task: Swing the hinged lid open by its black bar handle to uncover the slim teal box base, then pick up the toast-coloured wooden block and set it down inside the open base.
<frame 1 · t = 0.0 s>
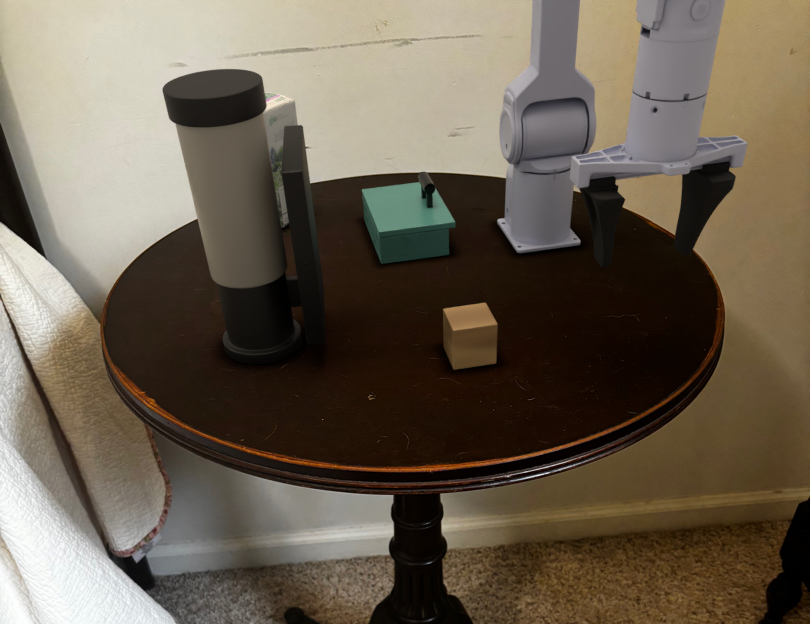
hand: (642, 256, 72), 10 cm above the table, tool pointing down, fingers open, 7 cm apart
syrup box: (280, 219, 107), on the table
press lid: (406, 195, 98), point 5 cm above the table, hinge at 0.0°
block: (469, 355, 81), on the table
light fixture: (276, 343, 84), on the table
teal box base: (404, 236, 101), on the table
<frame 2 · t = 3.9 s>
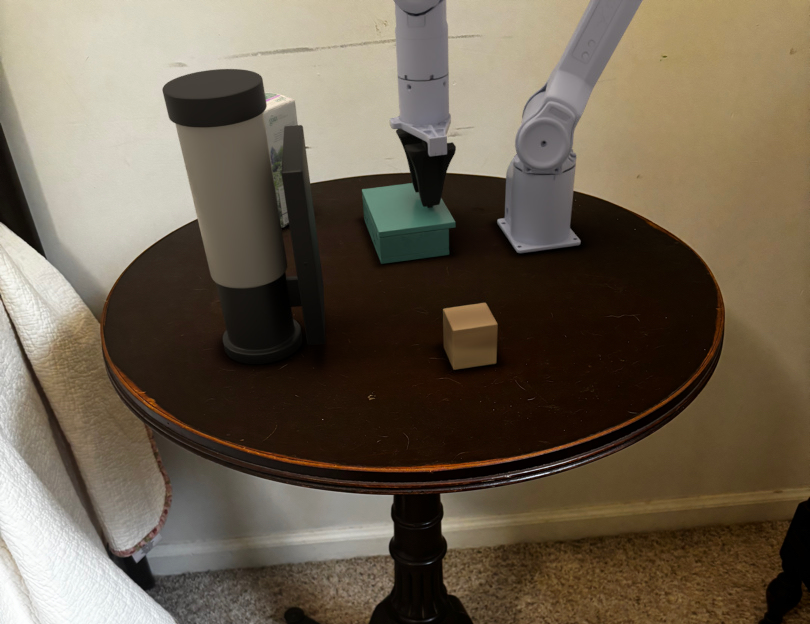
hand: (426, 197, 98), 5 cm above the table, tool pointing down, fingers closed on press lid, 4 cm apart
press lid: (406, 195, 98), point 5 cm above the table, hinge at 0.0°, touching gripper
everything else where it was.
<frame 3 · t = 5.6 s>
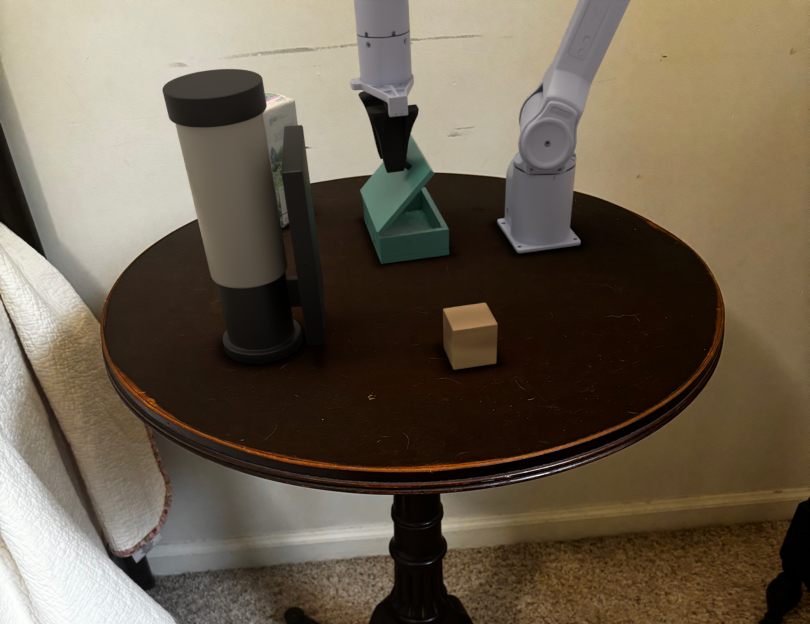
hand: (391, 164, 95), 9 cm above the table, tool pointing down, fingers closed on press lid, 4 cm apart
press lid: (385, 174, 95), point 8 cm above the table, hinge at 44.0°, touching gripper
everything else where it was.
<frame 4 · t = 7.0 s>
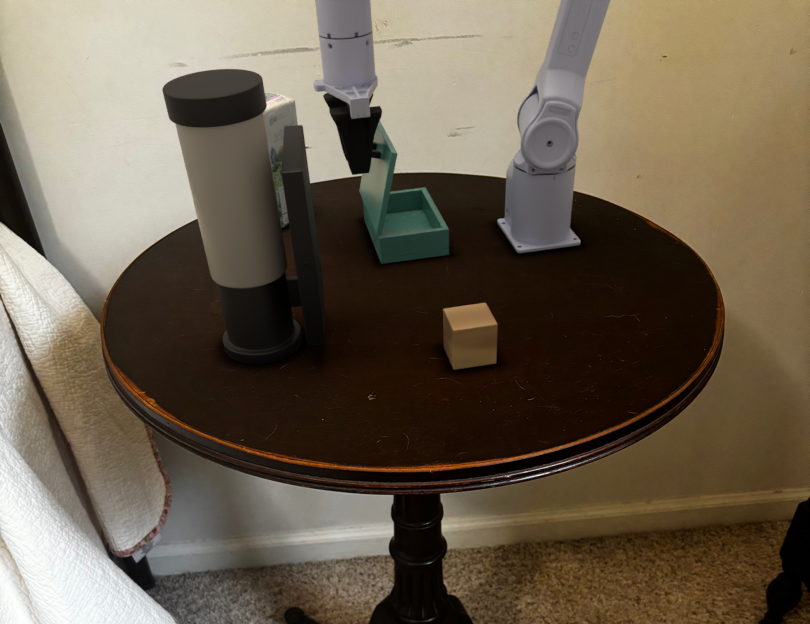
hand: (357, 165, 94), 9 cm above the table, tool pointing down, fingers closed on press lid, 4 cm apart
press lid: (364, 172, 95), point 8 cm above the table, hinge at 74.8°, touching gripper
everything else where it was.
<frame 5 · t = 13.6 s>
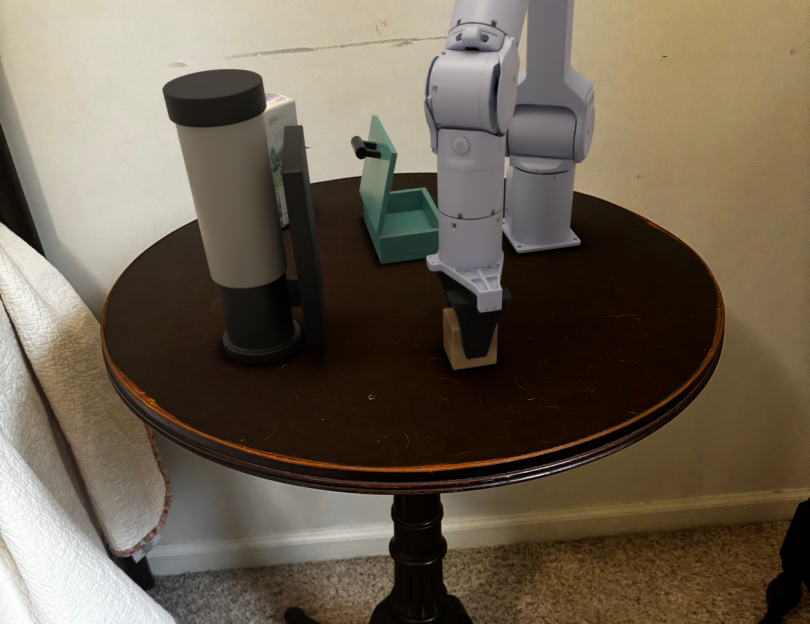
hand: (469, 343, 80), 1 cm above the table, tool pointing down, fingers closed on block, 4 cm apart
press lid: (364, 172, 95), point 8 cm above the table, hinge at 74.7°
block: (469, 355, 81), on the table, touching gripper
everything else where it was.
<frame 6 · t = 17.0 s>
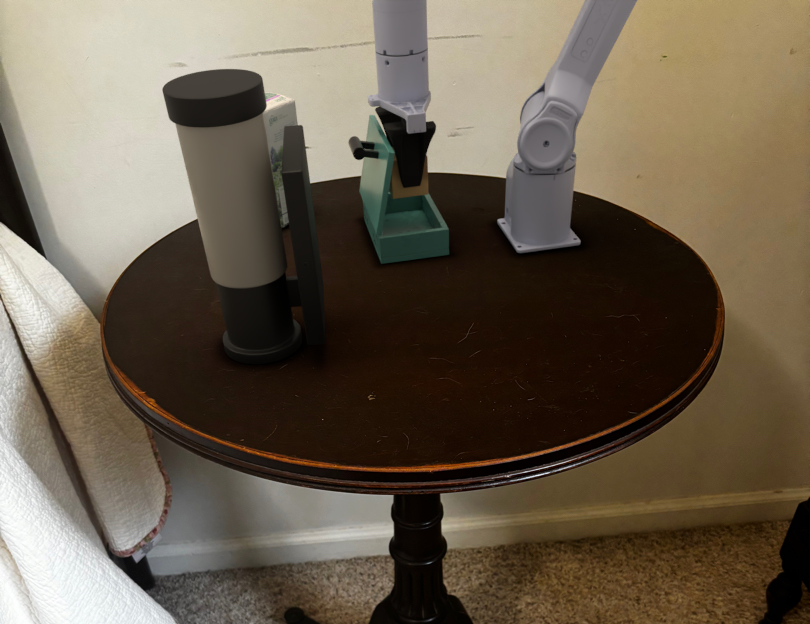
hand: (407, 178, 96), 7 cm above the table, tool pointing down, fingers closed on block, 4 cm apart
press lid: (363, 172, 95), point 8 cm above the table, hinge at 76.8°
block: (407, 190, 97), point 6 cm above the table, touching gripper
everything else where it was.
when the fingers open (2 cm above the table, at t = 18.8 s): block stays where it is, resting on teal box base.
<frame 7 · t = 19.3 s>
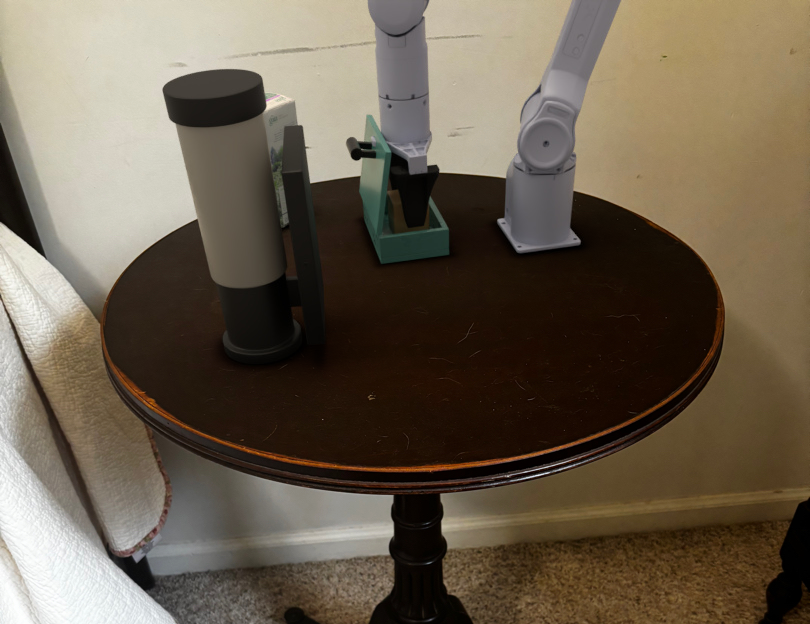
hand: (409, 213, 99), 3 cm above the table, tool pointing down, fingers open, 7 cm apart
press lid: (361, 172, 95), point 8 cm above the table, hinge at 79.1°
block: (409, 230, 101), point 1 cm above the table, touching teal box base
everything else where it was.
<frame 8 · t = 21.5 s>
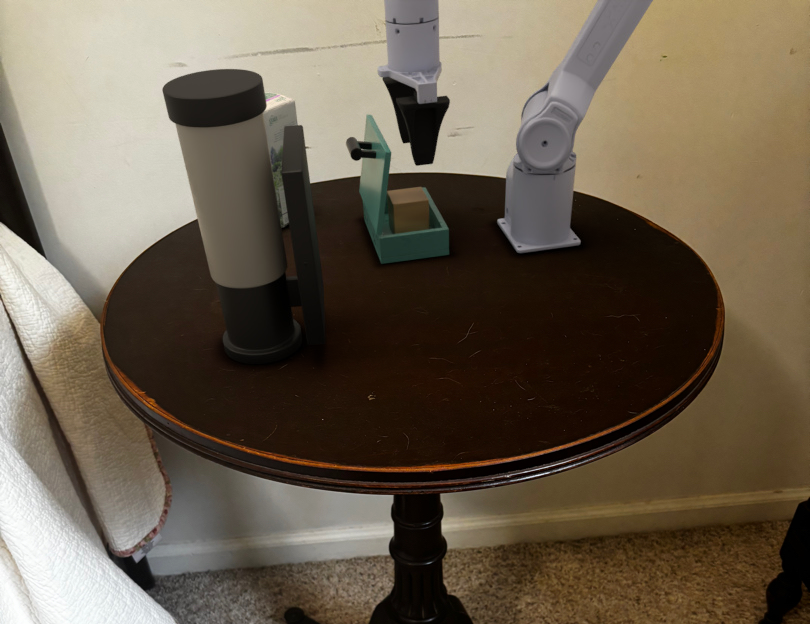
hand: (417, 152, 94), 10 cm above the table, tool pointing down, fingers open, 7 cm apart
nothing on the table moved.
at the end: press lid at +79° (first picture: +0°); block inside the target area in the teal box base (0.6 cm from its centre), point 0.7 cm above the teal box base's base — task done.
